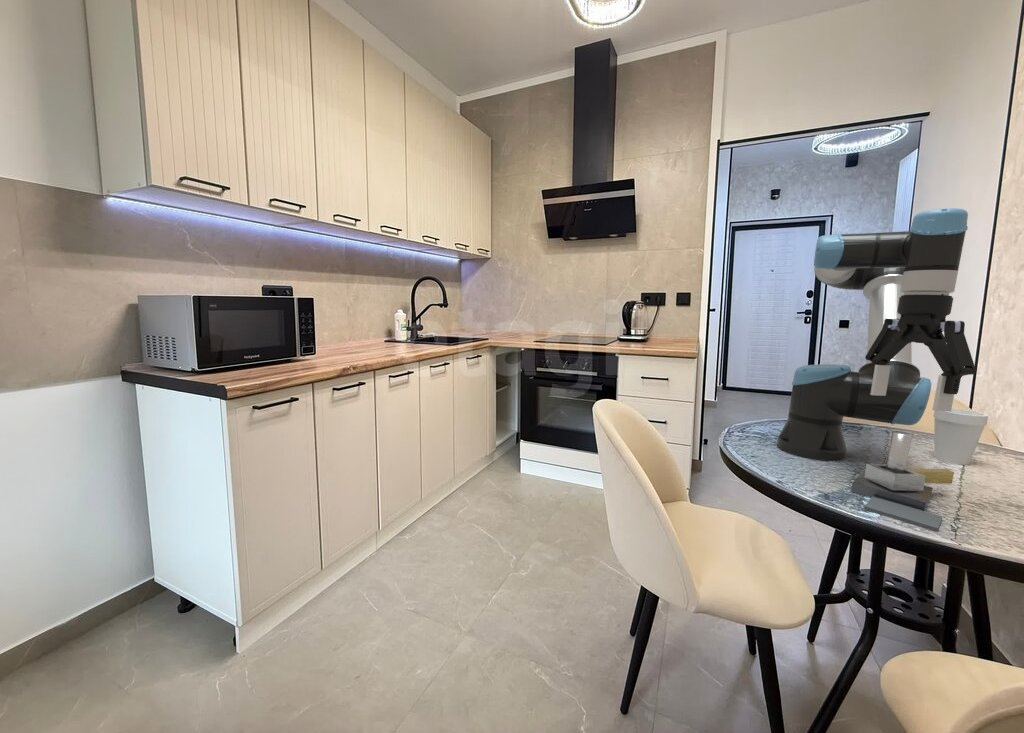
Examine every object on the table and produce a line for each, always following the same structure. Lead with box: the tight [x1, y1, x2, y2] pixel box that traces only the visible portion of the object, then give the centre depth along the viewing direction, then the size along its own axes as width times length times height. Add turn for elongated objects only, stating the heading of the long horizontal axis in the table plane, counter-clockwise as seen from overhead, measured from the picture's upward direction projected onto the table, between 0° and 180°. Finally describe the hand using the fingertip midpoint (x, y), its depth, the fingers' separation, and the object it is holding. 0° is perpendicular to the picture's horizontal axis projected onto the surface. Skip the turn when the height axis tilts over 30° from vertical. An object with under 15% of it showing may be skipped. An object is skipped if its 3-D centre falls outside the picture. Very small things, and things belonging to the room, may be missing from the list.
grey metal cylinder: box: [885, 430, 913, 474], centre depth 87 cm, size 3×3×11 cm
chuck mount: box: [850, 470, 934, 511], centre depth 88 cm, size 11×11×2 cm
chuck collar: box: [864, 463, 955, 491], centre depth 88 cm, size 15×6×3 cm, turn 93°
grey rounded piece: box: [933, 407, 989, 466], centre depth 110 cm, size 10×9×13 cm
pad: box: [863, 496, 944, 532], centre depth 79 cm, size 10×7×1 cm
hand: (907, 402), depth 85 cm, fingers open, 13 cm apart
